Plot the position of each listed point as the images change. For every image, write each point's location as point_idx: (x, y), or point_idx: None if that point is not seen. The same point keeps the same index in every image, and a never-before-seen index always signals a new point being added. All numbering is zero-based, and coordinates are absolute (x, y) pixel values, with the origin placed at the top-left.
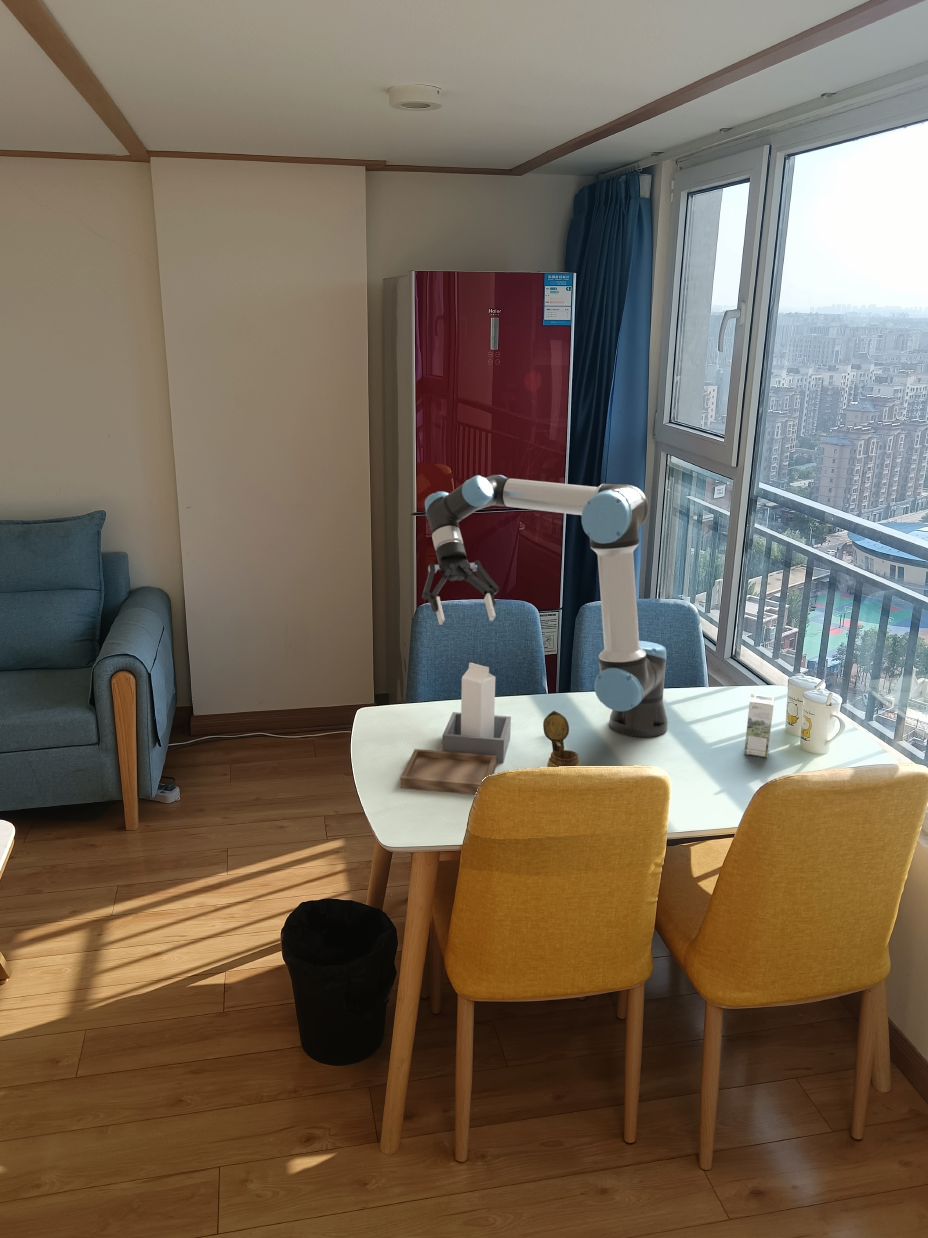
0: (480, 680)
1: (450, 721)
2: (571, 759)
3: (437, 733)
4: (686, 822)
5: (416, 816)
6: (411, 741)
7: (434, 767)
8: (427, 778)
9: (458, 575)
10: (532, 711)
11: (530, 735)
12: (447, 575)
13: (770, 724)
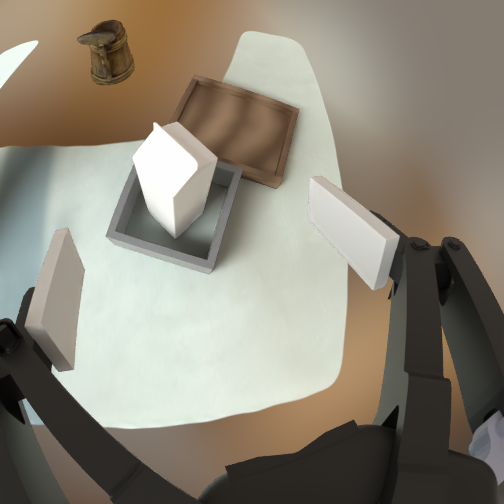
0: (177, 126)
1: (222, 224)
2: (105, 21)
3: (234, 278)
4: (32, 45)
5: (276, 64)
6: (278, 250)
7: (252, 143)
8: (266, 100)
9: (294, 460)
10: None
11: (80, 254)
12: (418, 383)
13: None
